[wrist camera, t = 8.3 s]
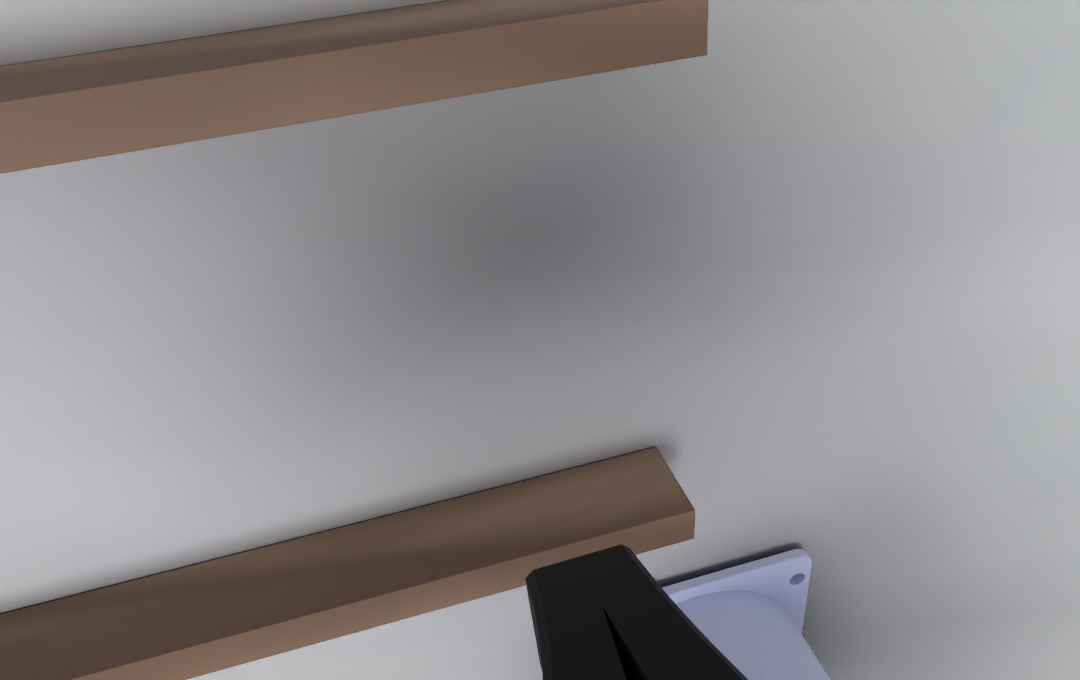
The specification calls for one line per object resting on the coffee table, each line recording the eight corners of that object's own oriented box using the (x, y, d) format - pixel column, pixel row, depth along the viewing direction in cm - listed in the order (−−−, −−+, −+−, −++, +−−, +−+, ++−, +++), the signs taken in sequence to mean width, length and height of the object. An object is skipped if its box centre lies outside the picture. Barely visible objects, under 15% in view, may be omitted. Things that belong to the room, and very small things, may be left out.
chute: (656, 474, 23) (693, 538, 21) (-1, 645, 20) (-33, 739, 18) (651, -30, 16) (708, -7, 14) (-380, 121, 13) (-505, 179, 11)
